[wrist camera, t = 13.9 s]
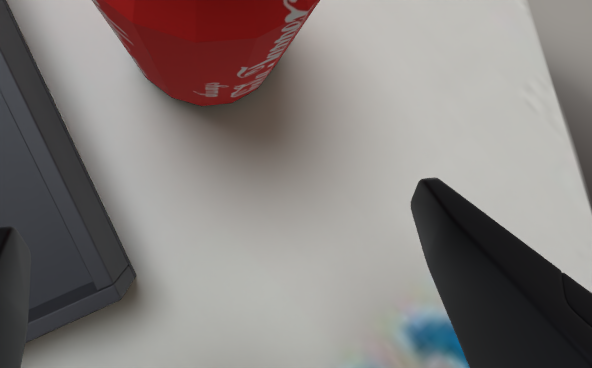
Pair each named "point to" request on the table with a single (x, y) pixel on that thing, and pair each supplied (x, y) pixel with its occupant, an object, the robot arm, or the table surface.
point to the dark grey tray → (52, 198)
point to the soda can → (206, 42)
